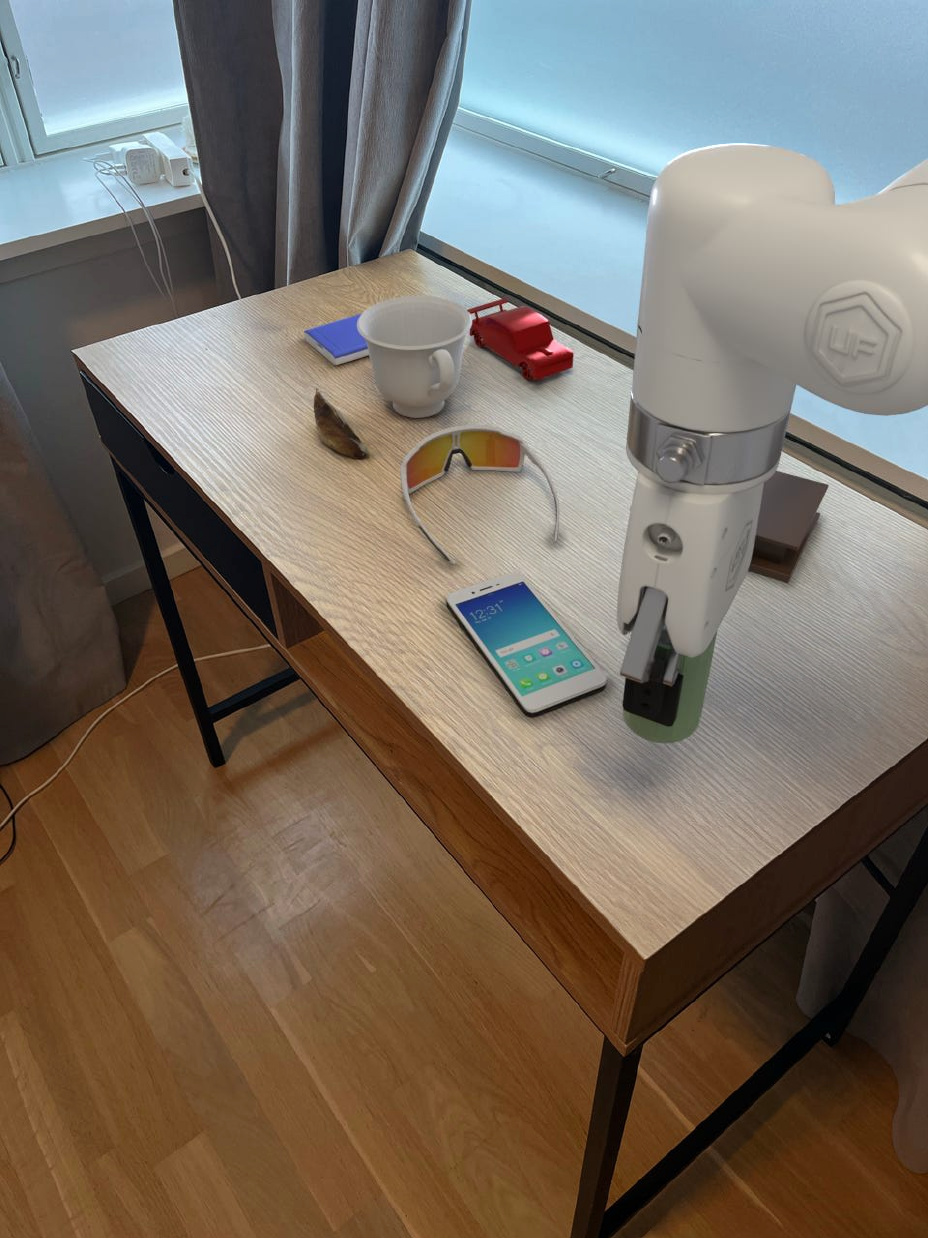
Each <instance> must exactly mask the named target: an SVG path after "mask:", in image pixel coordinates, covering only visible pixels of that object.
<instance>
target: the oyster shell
mask: <svg viewBox="0 0 928 1238" xmlns="http://www.w3.org/2000/svg"><path fill="white" fill-rule="evenodd" d="M313 413H314V418H315V425H316V429H317V431H318V434H319V437H320V438H321V439H320V440H322V443H323V444H325V445H327V446H328V447H329V448H331V449H332V450H335V451H337V452H338V453H340V454H343V455H346V456H349V457H351V458H353V459H354V458H357V459H365V458H367V457H369V456H370V450H369V448H368V446H367V445H365V443H364V441H363V439H361V437H360V436H359V435H358V434H357V433H356V431H355V429H354V428H353V427H352V425H351V424H350V423H349V422H348V421H347V420H346V418H345V417H344V416H343V414H342V413H341V412H340V410H338V409H337V408H335V407H334V405H332V404H331V403H330V402H329V400H328V398H327V396H326V394H325V392H323V391H322V390H321V389H320V388H318V387H315V394H314V396H313Z"/></svg>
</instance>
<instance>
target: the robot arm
mask: <svg viewBox="0 0 928 1238" xmlns="http://www.w3.org/2000/svg"><path fill="white" fill-rule="evenodd" d="M835 194H836V192H835V186H834V183H833V181H832V178H831V177H830V174H829V172H828V170H826V169H825V168H824V166H822V164H820V163H819V162H818V161H817V160H815V159H813V158H812V157H811V156H807V155H805V154H802V153H800V152H798V151H794V150H792V149H787V148H783V147H779V146H776V145H775V146H774V145H768V144H758V143H757V144H756V143H725V144H722V143H721V144H714V145H707V146H704V147H699V148H696V149H693V150H688V151H686V152H683V153H682V154H680V155H677V156H676V157H675V158H673V159H672V160H671V161H669V162H667V164H666V165H664V167H663V168H662V169H661V171H660V172H659V174H658V175H657V177H656V179H655V181H654V183H653V185H652V189H651V192H650V196H649V197H650V198H649V203H648V204H649V205H648V210H647V220H646V229H645V241H644V252H643V261H642V262H643V263H642V272H641V273H642V274H641V283H640V292H639V293H640V294H639V303H638V314H637V326H636V337H635V351H634V361H633V363H634V364H633V373H632V385H631V391H630V401H629V411H628V412H629V413H628V422H627V423H628V424H627V433H626V443H625V452H626V457H627V459H628V461H629V463H630V464H631V465H632V467H633V468H634V469H635V470H636V471H637V475H636V479H635V486H634V491H633V495H632V499H631V504H630V507H629V517H628V523H627V527H626V534H625V538H624V546H623V553H622V558H621V559H622V560H621V566H620V571H619V581H618V590H617V599H616V601H617V602H616V625H617V628H618V630H619V631H620V633H621V634H622V635H623V636H626V635H627V634H630V639H629V641H628V644H627V648H626V651H625V655H624V657H623V661H622V664H621V666H620V671H619V676H621V677H623V678H624V679H625V680H624V687H623V697H622V705H621V706H622V710H623V709H624V710H625V711H627V712H629V713H632V714H634V715H637V716H640V717H643V718H645V719H648V720H651V721H653V722H656V723H659V724H662V725H664V726H667V727H671V726H673V724H674V722H675V720H676V717H677V711H678V706H679V700H680V694H681V688H682V682H683V677H684V675H681V674H680V673H678V672H679V668H680V663H681V659H682V655H685V656H688V657H690V658H693V657H696V656H698V655H700V654H701V653H703V652H704V651H705V650H706V649H707V647H708V646H709V644H710V642H711V641H712V639H713V637H714V635H715V633H716V632H717V633H718V631H719V629H720V626H721V624H722V622H723V620H724V619H725V617H726V615H727V613H728V611H729V610H730V607H731V606H732V604H733V602H734V600H735V598H736V596H737V594H738V592H739V591H740V588H741V587H742V584H743V582H744V581H745V579H746V576H747V574H748V572H749V570H748V569H749V566H750V563H751V559H752V554H753V548H754V542H755V536H756V530H757V523H758V517H759V511H760V505H761V498H762V492H763V485H764V482H766V481H767V480H768V479H769V478H770V477H771V476H772V475H774V473H775V472H776V471H778V468H779V465H780V461H781V456H782V452H783V448H784V444H785V443H784V442H785V439H786V434H787V429H788V424H789V421H790V416H791V412H792V406H793V402H794V397H795V392H796V388H797V386H799V387H800V388H801V389H804V390H805V391H807V392H809V393H811V394H812V395H814V396H816V397H818V398H820V399H822V400H824V401H826V402H828V403H831V404H833V405H834V406H835V405H836V406H838V407H840V408H842V409H845V410H849V411H852V412H855V413H859V414H863V415H870V416H871V415H873V416H882V417H883V416H885V417H886V416H887V417H888V416H897V415H904V414H910V413H912V412H916V411H919V410H921V409H924V408H925V407H928V157H927V158H926V159H924V160H923V161H921V162H919V163H918V164H917V165H915V166H913V167H912V168H911V169H909V170H907V172H905V173H903V174H902V175H899V177H897V178H896V179H895V180H893V181H892V182H891V183H889V184H888V185H887V186H886V187H884V188H883V189H882V190H880V191H878V192H877V193H876V194H873V195H870V196H866V197H863V198H859V199H856V200H852V201H848V202H844V203H836V195H835ZM664 622H665V625H664ZM633 627H634V629H633ZM632 629H633V632H632V635H631V630H632ZM717 630H718V631H717ZM658 642H660V643H663V644H666V645H669V646H671V647H670V651H669V655H668V660H667V662H665V661H662V660H659V659H656V658H654V654H655V650H656V647H657V644H658Z"/></svg>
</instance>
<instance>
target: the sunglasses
mask: <svg viewBox="0 0 928 1238" xmlns="http://www.w3.org/2000/svg"><path fill="white" fill-rule="evenodd" d="M456 454H460V455H461V456H462V458H463V460H464V462H465V464H466V466H467V468H470V470H473V471H498V472H515V473H516V472H517V473H519V472H521V471H522V469H523V465H524V463H525V458H526V457H527V459H528V460H529V461H530V462H531V463H532V464H533V465H535V466H536V467H537V468H538V469H539V470H540V471H541V472H542V474H543V475H544V476H545V479H546V481H547V483H548V485H549V488H550V492H551V494H552V497H553V501H554V508H555V526H554V533H553V542H554V543H556V542H557V541H558V535H559V527H560V501H559V497H558V491H557V488H556V487H555V484H554V482H553V479H552V476H551V475H550V472H549V471H548V469H547V467H546V466H545V464H544V463H543V461H542V459H541V458H540V457H539V455H538V454H537V453H536V452H535V451H534V450H533V449H532V447H531V446H530V445H529V443H527V442H526V441H525V440H524V439H523V438H522V437H521V436H520V435H517V434H515V433H513V432H510V431H507V430H504V429H502V428H501V427H498V426H493V425H484V424H482V425H481V424H467V425H457V426H453V427H448V428H445V429H442V430H438V431H436V432H434V433H432V434H430V435H428V436H426V437H425V438H423V439H421V440H420V441H419V442H417V443H416V444H415V446H414V447H413V448H412V449H411V450H410V451H409V453H407V454H406V456H405V457H404V458H403V461H402V463H401V465H400V470H399V475H400V477H399V478H400V487H401V491H402V494H403V498H404V501H405V503H406V506H407V507H408V509H409V511H410V514H411V516H412V518H413V520H414V522H415V523H416V525H417V527H418V528H419V529H420V531H421V532H422V533H423V535H424V536H425V538H426V539H427V540H428V541H429V542H430V544H431V545H432V546H433V547H434V548H435V550H437V552H438V553H439V554H440V555H441V556H442V557H443V558H444V559H445V560H446V561H447V562H448V563H449V564H450V565H455V564H456V561H455V560H454V559H453V558H452V557H451V555H449V553H447V552H446V551H445V549H444V548H443V547H442V546H441V545H440V544H439V542H437V540H436V539H435V538H434V537H433V535H432V534H431V533H430V532H429V531H428V529H427V528H426V526H425V525H424V524H423V522H422V521H421V519H420V518H419V516H418V515H417V513H416V511H415V509H414V507H413V504H412V502H411V498H410V494H412V493H413V492H415V491H417V490H419V489H420V488H422V487H424V486H425V485H427V484H430V483H431V482H433V481H435V480H438V479H439V478H441V477H443V476H445V473H447V472H449V470H450V467H451V464H452V460H453V456H454V455H456ZM525 456H526V457H525Z"/></svg>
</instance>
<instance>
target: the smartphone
mask: <svg viewBox="0 0 928 1238" xmlns="http://www.w3.org/2000/svg"><path fill="white" fill-rule="evenodd" d="M445 604H446V607H447V608H448V610H449V611H450V613H451V614H452V616H453V617H454V619H455V620H456V621H457V622H458V624H459V626H460V627H461V628H462V630H463V631H464V632H465V633H466V635H467V636H468V638H469V639H470V641H471V642H472V644H473V645H474V646H475V648H476V649H477V651H478V652H479V653H480V655H481V656H482V657H483V659H484V660H485V662H486V663H487V664H488V666H489V667H490V668H491V671H493V673H494V674H495V675H496V677H497V678H498V679H499V681H500V682H501V684H502V685H503V686H504V688H505V689H506V690H507V692H508V693H509V695H510V696H511V698H512V699H513V700H514V702H515V704H516V705H517V706H518V707H519V709H520V711H522V713H523V714H524V715H525V716H527V717H531V718H532V717H537V716H539V715H542V714H545V713H547V712H550V711H553V710H555V709H558V708H560V707H563V706H565V705H568V704H570V703H573V702H575V701H578V700H580V699H584V698H586V697H588V696H590V695H594V694H596V693H598V692H600V691H603V690H604V689H606V687H607V684H608V677H607V675H606V673H605V672H604V671H603V670H602V669H601V667H600V666H599V665H598V664H597V662H596V661H595V660H594V659H593V658H592V657H591V655H590V654H589V653H588V652H587V650H586V649H585V648H584V647H583V646H582V644H581V643H580V642H579V641H578V640H577V638H576V637H575V636H574V635H573V634H572V632H571V631H570V630H569V629H568V628H567V627H566V625H565V624H564V623H563V622H562V621H561V619H560V618H559V617H558V616H557V615H556V613H555V612H554V611H553V610H552V609H551V607H550V606H549V605H548V604H547V602H545V600H544V599H543V598H542V596H541V595H539V593H538V592H537V590H535V588H534V587H533V586H532V584H531V583H530V582H529V581H528V580H527V578H526V577H525V576H524V575H523V574H522V573H520V572H518V571H511V572H508V573H505V574H503V575H499V576H497V577H494V578H490V579H488V580H485V581H481V582H479V583H476V584H475V583H474V584H472V585H470V586H469V585H468V586H467V587H463V588H460V589H458V590H454V591H451V592H450V593H448V594H447V595H446V598H445Z"/></svg>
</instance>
